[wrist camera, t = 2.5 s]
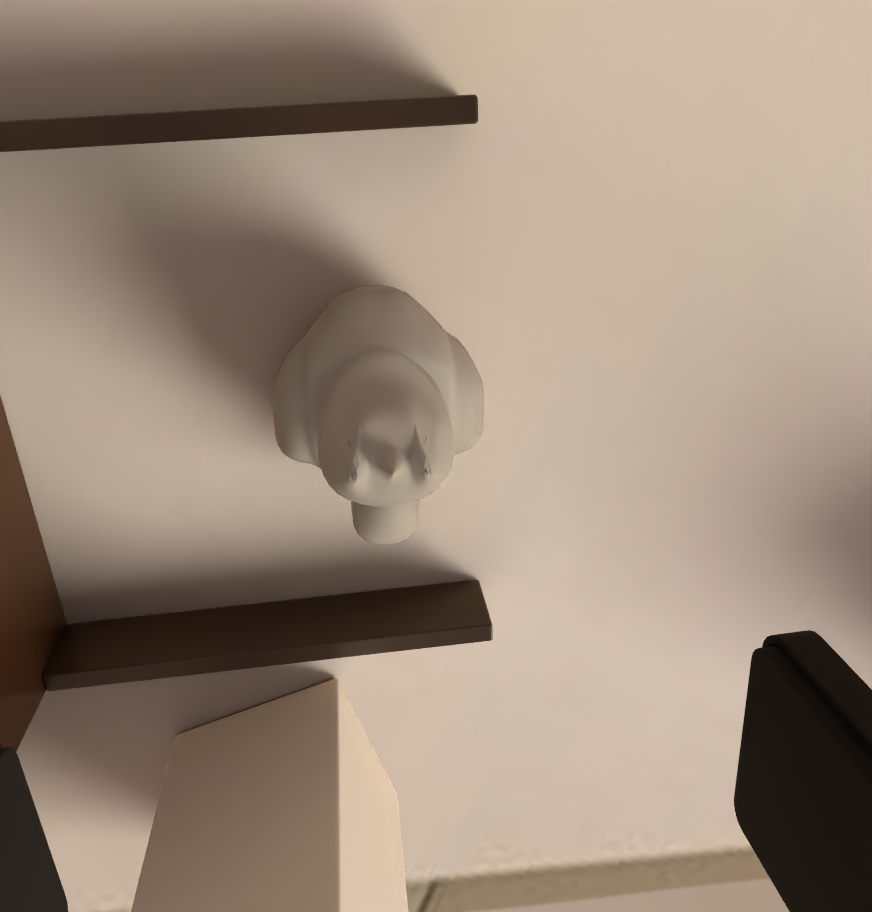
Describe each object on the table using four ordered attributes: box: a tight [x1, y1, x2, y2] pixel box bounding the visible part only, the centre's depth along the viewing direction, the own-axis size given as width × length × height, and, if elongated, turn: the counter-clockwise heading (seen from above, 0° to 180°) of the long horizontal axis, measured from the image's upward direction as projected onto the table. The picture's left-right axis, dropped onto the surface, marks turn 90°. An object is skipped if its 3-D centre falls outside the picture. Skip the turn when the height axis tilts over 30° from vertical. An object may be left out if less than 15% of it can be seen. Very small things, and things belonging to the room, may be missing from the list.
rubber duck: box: [272, 286, 484, 545], centre depth 20 cm, size 5×7×8 cm
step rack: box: [0, 95, 493, 751], centre depth 18 cm, size 22×15×10 cm, turn 93°
